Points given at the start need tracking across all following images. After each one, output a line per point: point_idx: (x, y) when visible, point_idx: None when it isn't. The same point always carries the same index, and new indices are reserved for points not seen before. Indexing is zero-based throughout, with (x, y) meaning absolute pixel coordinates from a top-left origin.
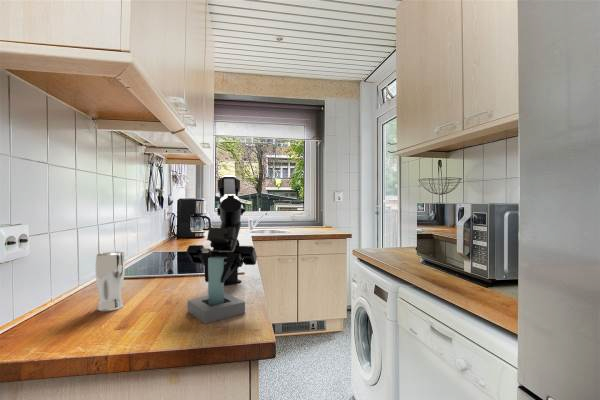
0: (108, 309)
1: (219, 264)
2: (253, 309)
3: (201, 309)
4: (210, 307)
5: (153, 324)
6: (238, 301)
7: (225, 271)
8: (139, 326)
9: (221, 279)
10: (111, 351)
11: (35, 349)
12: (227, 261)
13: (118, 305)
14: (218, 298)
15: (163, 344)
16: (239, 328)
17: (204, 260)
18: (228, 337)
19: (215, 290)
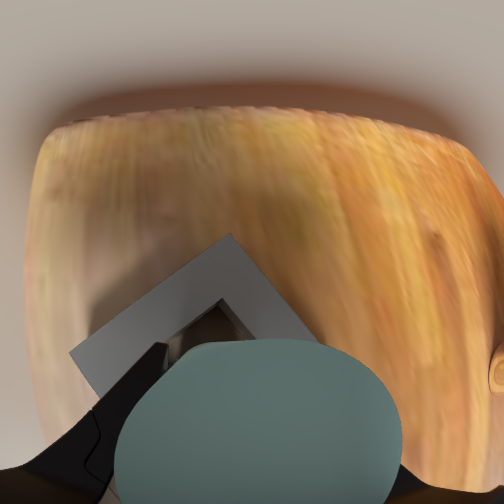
0: (500, 346)
1: (173, 366)
2: (63, 391)
3: (254, 263)
4: (218, 283)
5: (385, 259)
6: (98, 362)
7: (123, 394)
8: (408, 247)
9: (164, 346)
10: (376, 130)
11: (471, 171)
12: (90, 491)
13: (496, 365)
14: (193, 347)
15: (295, 133)
16: (101, 204)
17: (419, 488)
18: (134, 148)
19: (211, 342)
